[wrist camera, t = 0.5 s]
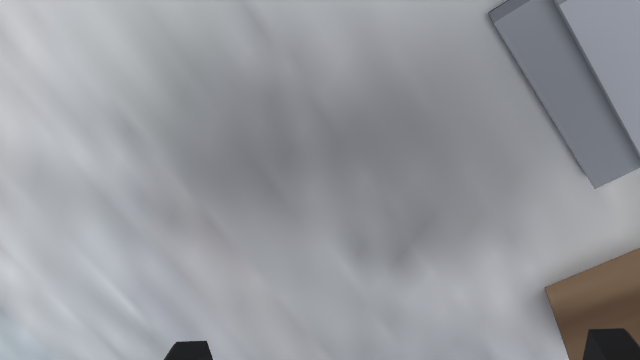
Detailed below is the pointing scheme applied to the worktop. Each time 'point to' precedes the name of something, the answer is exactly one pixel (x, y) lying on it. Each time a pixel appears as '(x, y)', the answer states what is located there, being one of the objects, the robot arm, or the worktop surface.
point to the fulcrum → (583, 74)
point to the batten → (598, 301)
